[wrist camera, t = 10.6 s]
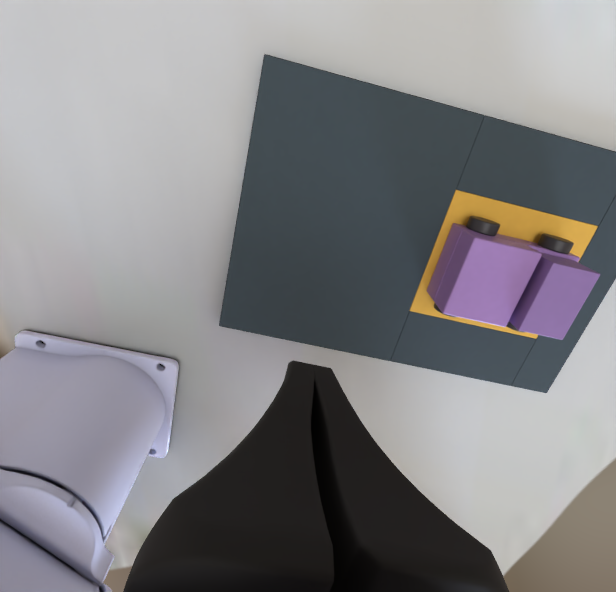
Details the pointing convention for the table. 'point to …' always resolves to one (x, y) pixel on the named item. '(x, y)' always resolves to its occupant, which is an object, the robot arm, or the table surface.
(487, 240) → the toy truck
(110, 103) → the table surface
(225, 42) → the table surface
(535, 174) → the play mat
